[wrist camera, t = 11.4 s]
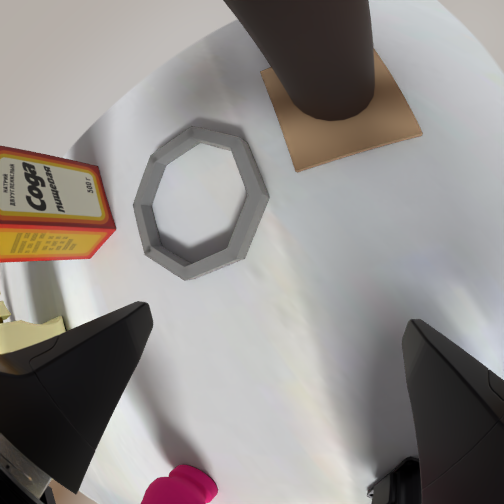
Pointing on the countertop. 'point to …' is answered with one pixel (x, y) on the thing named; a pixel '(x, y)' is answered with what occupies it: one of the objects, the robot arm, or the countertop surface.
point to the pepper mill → (181, 488)
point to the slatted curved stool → (25, 332)
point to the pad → (343, 122)
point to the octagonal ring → (246, 220)
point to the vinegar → (315, 51)
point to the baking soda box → (50, 208)
